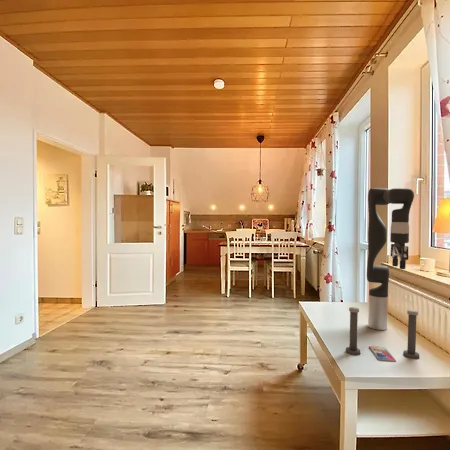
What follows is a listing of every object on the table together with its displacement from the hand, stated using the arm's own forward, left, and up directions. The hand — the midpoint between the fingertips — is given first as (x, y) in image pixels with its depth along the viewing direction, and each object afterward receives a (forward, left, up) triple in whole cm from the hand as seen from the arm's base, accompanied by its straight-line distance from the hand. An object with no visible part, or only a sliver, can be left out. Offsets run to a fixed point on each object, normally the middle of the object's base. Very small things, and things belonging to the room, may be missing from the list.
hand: (398, 267), depth 155 cm
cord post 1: (+11, -22, -36) cm, 44 cm away
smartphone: (+11, -10, -37) cm, 40 cm away
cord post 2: (+11, +2, -36) cm, 38 cm away
